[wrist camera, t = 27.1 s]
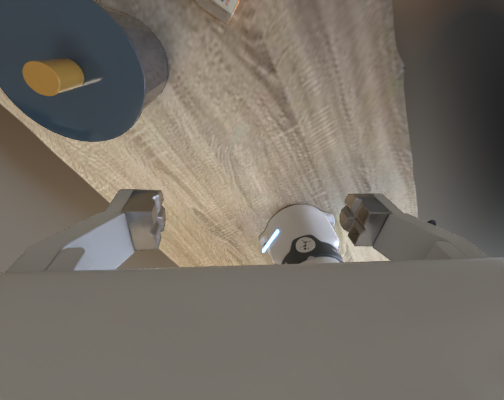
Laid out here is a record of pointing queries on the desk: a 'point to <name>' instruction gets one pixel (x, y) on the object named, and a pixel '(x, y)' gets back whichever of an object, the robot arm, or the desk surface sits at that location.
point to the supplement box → (220, 8)
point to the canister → (145, 53)
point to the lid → (70, 68)
